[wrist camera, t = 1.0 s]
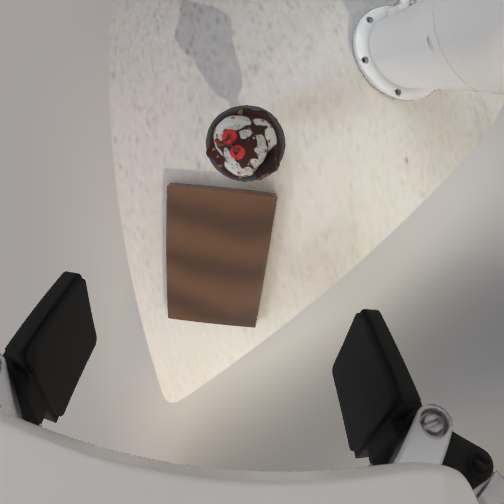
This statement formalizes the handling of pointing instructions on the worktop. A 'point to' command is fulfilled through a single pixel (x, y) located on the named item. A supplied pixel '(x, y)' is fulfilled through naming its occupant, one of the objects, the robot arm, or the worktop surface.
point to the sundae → (245, 143)
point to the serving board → (216, 252)
